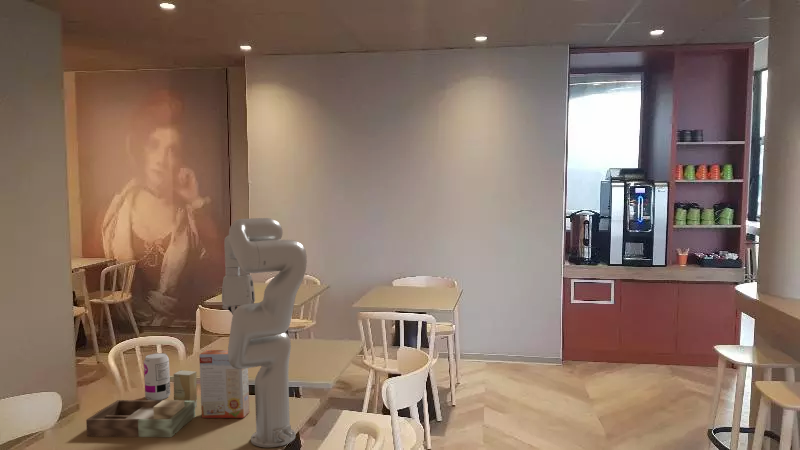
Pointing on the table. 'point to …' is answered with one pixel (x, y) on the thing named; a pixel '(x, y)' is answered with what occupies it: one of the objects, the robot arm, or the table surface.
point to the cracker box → (222, 386)
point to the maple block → (167, 408)
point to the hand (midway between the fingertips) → (239, 326)
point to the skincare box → (185, 386)
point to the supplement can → (157, 376)
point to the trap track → (137, 420)
